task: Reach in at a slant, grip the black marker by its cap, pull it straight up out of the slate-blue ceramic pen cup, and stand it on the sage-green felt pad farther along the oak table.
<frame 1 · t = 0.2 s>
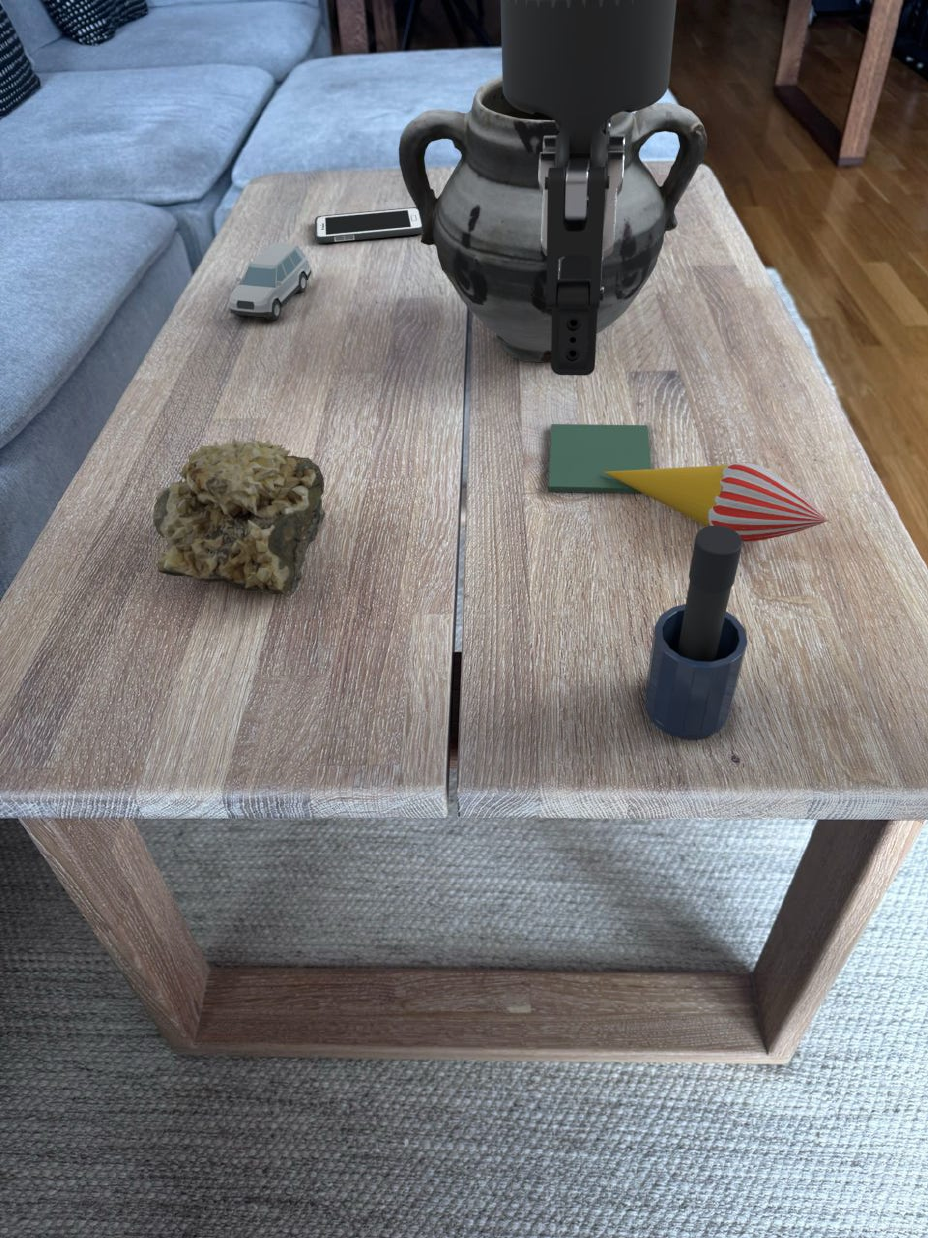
hand: (576, 333, 49), 24 cm above the table, tool pointing down, fingers open, 8 cm apart
pen cup: (686, 706, 61), on the table
ceramic pot: (546, 344, 99), on the table
marker: (687, 701, 61), point 1 cm above the table, touching pen cup
toy car: (273, 303, 109), on the table
ice cream cone: (703, 517, 76), on the table, touching felt pad
mineral specimen: (240, 560, 75), on the table
cell phone: (369, 230, 124), on the table
felt pad: (599, 459, 82), on the table
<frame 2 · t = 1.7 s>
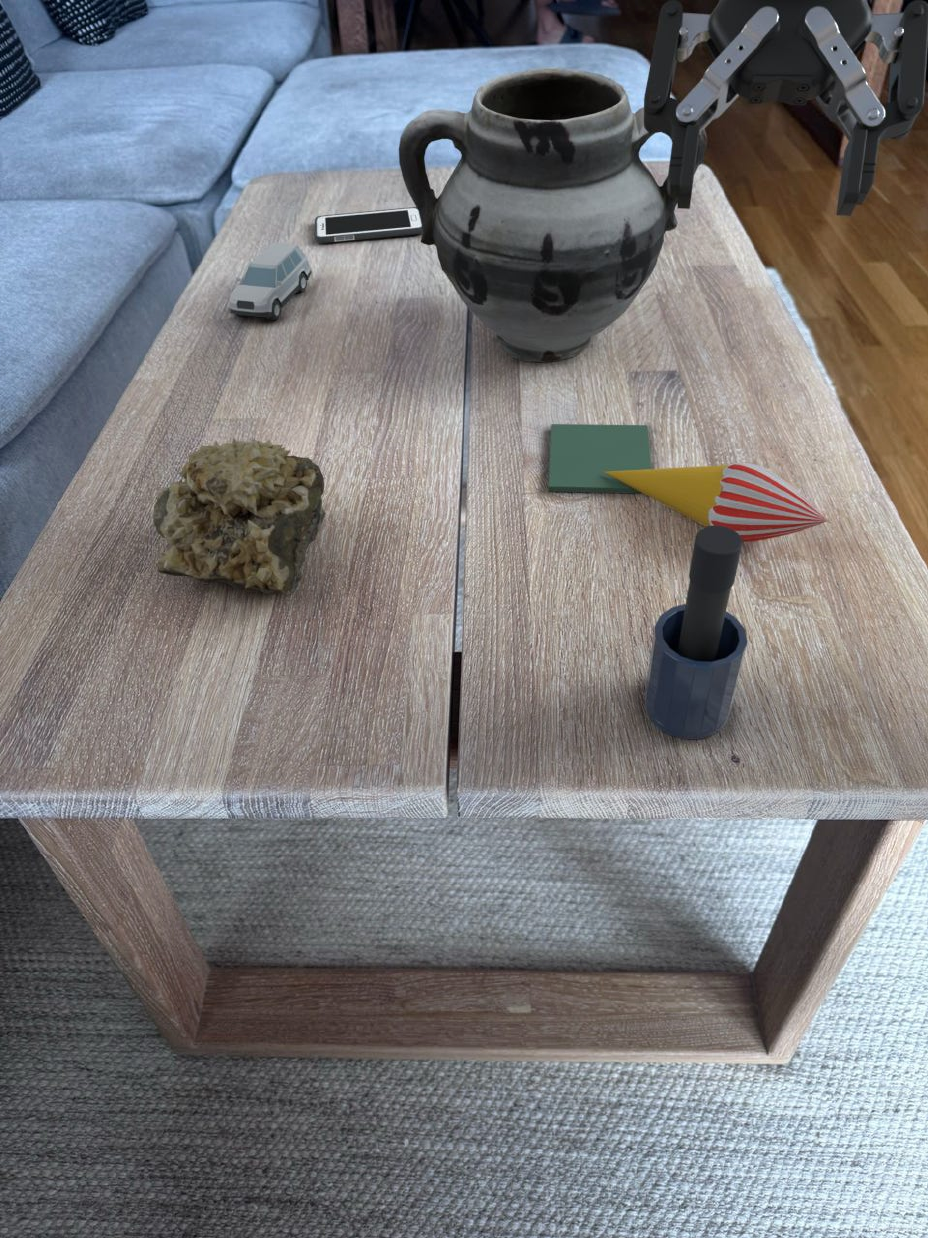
hand: (764, 205, 49), 29 cm above the table, tool tilted 45°, fingers open, 8 cm apart
nothing on the table moved.
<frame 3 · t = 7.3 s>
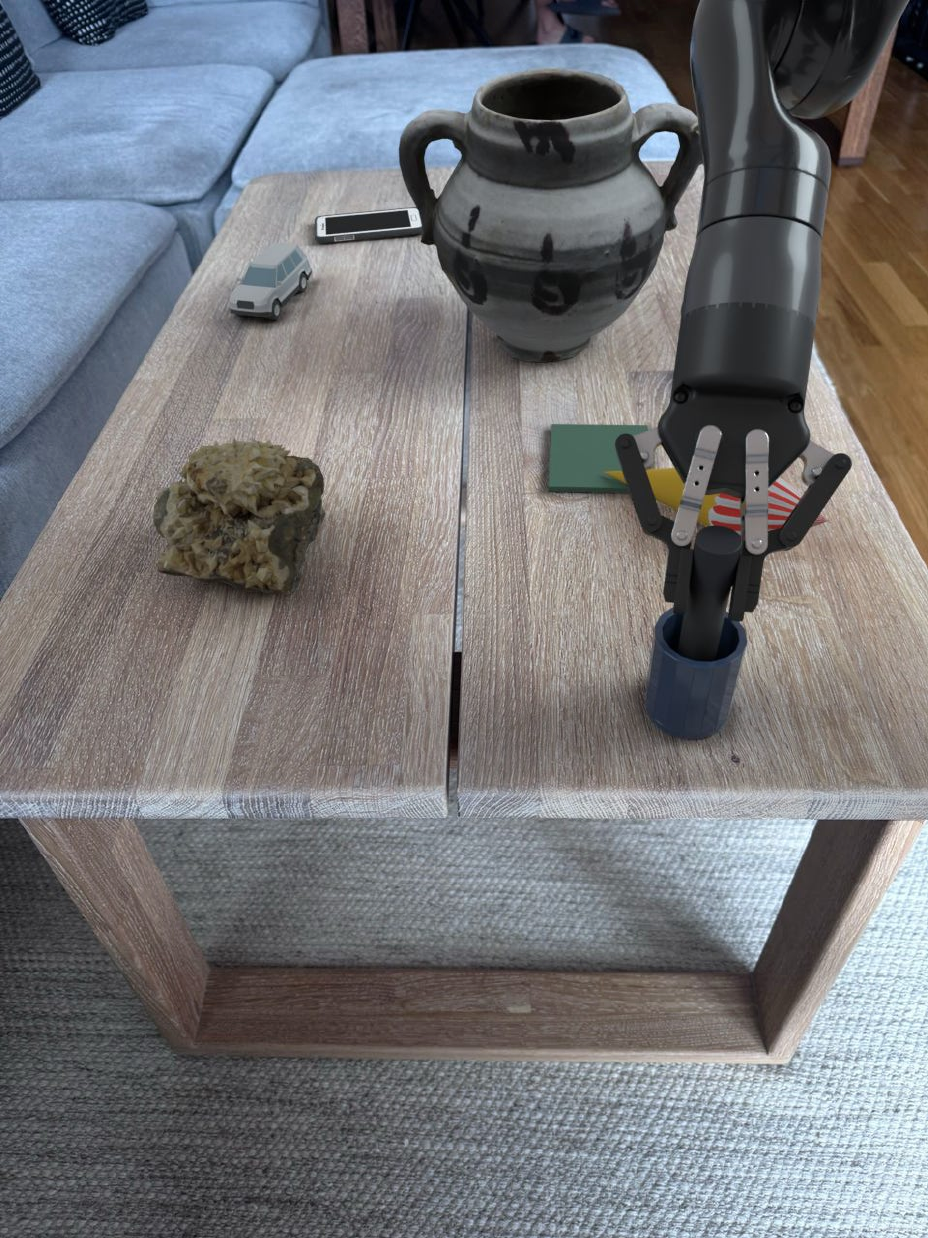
hand: (707, 615, 53), 11 cm above the table, tool tilted 45°, fingers closed on marker, 2 cm apart
marker: (687, 701, 61), point 1 cm above the table, touching gripper, pen cup
everything else where it was.
when the fingers open (11 cm above the table, at t = 18.4 s): marker stays where it is, resting on felt pad.
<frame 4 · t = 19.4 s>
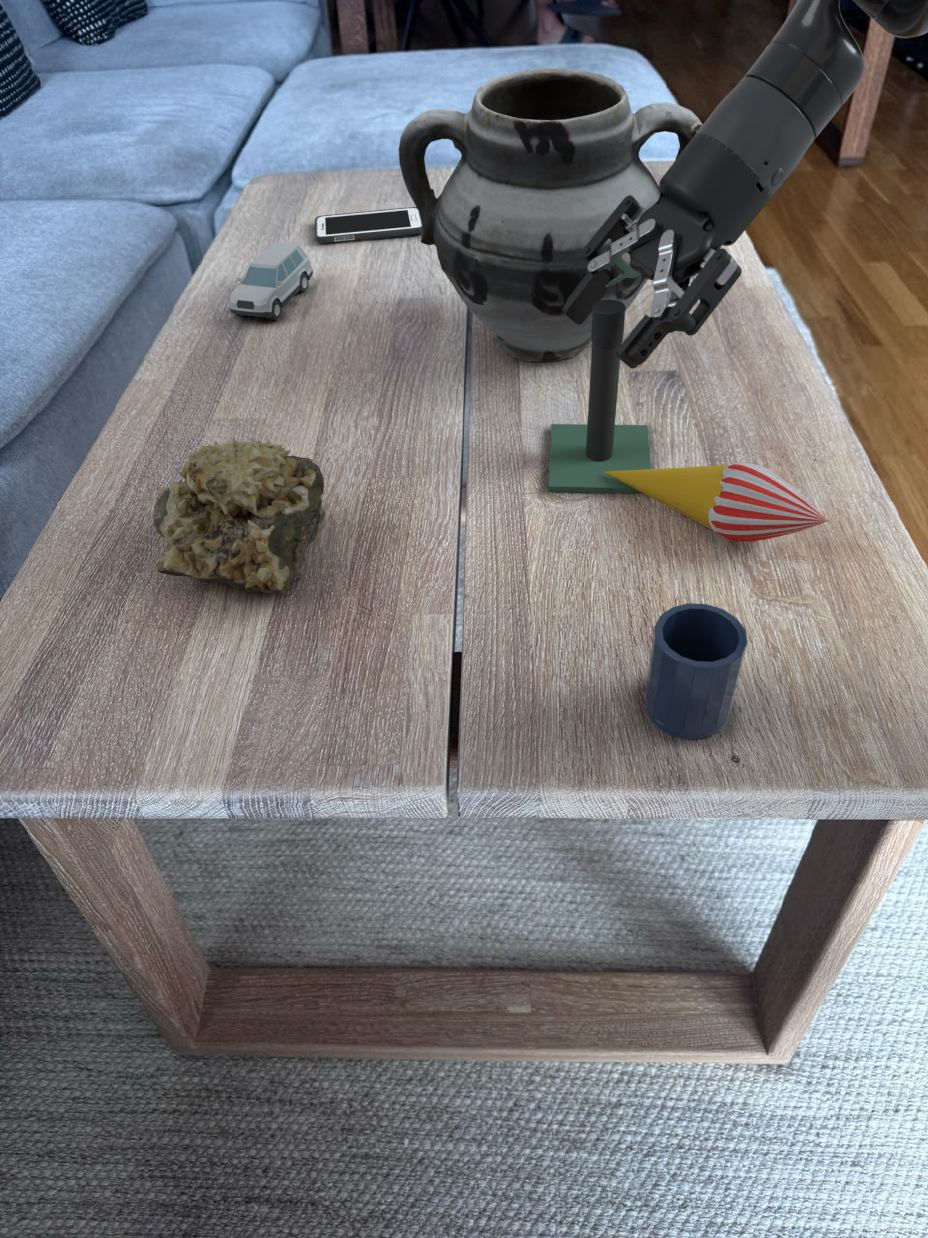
hand: (596, 339, 74), 12 cm above the table, tool tilted 45°, fingers open, 8 cm apart
marker: (599, 454, 82), point 1 cm above the table, touching felt pad
everything else where it was.
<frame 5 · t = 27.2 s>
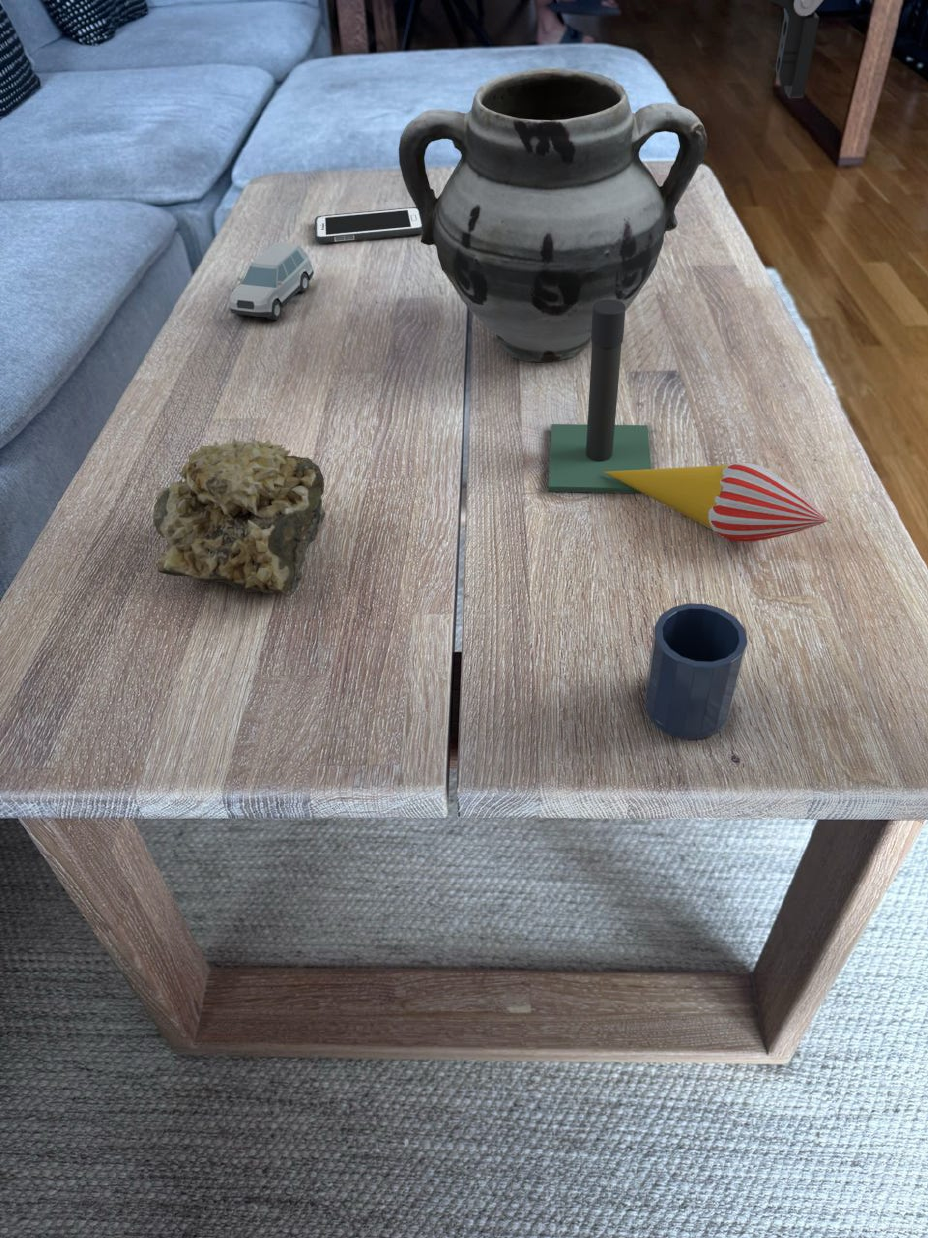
hand: (876, 92, 48), 33 cm above the table, tool pointing down, fingers open, 8 cm apart
nothing on the table moved.
at the end: marker inside the target area on the felt pad (0.1 cm from its centre), point 0.6 cm above the felt pad's base; the gripper is holding nothing; marker touching felt pad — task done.
